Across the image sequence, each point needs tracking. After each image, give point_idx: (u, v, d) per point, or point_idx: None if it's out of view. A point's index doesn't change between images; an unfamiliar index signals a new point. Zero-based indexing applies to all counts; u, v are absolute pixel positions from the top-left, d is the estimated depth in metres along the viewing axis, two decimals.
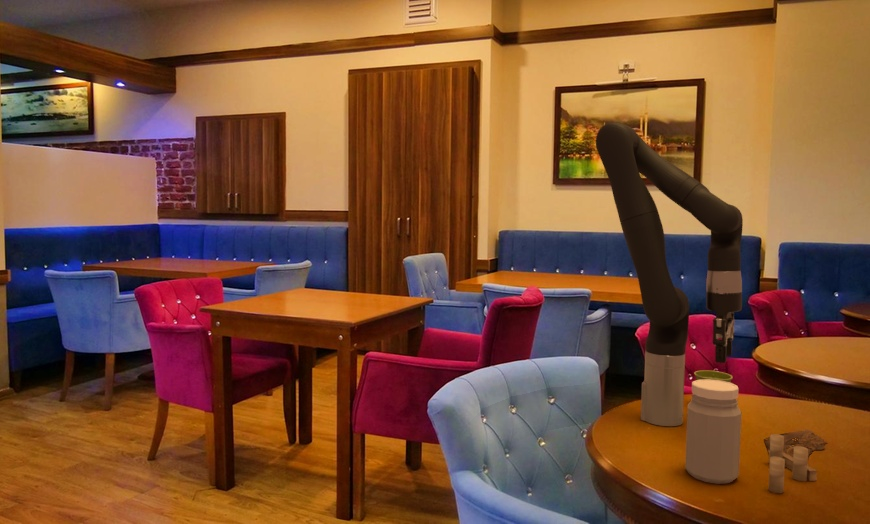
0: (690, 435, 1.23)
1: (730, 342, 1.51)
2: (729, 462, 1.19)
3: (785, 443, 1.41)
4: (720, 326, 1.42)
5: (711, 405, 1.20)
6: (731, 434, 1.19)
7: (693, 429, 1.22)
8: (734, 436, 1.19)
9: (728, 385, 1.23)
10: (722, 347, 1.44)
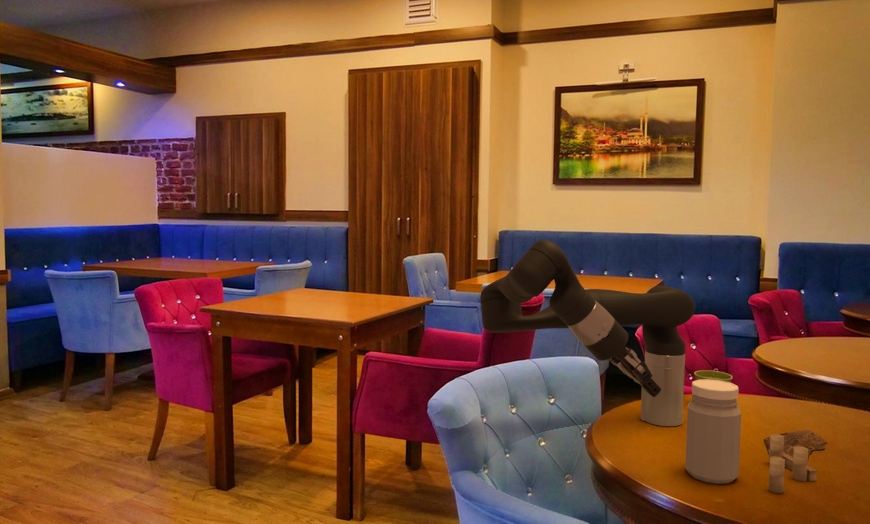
0: (690, 435, 1.23)
1: None
2: (729, 462, 1.19)
3: (785, 443, 1.41)
4: (644, 371, 1.15)
5: (711, 405, 1.20)
6: (731, 434, 1.19)
7: (693, 429, 1.22)
8: (734, 436, 1.19)
9: (728, 385, 1.23)
10: (648, 379, 1.20)
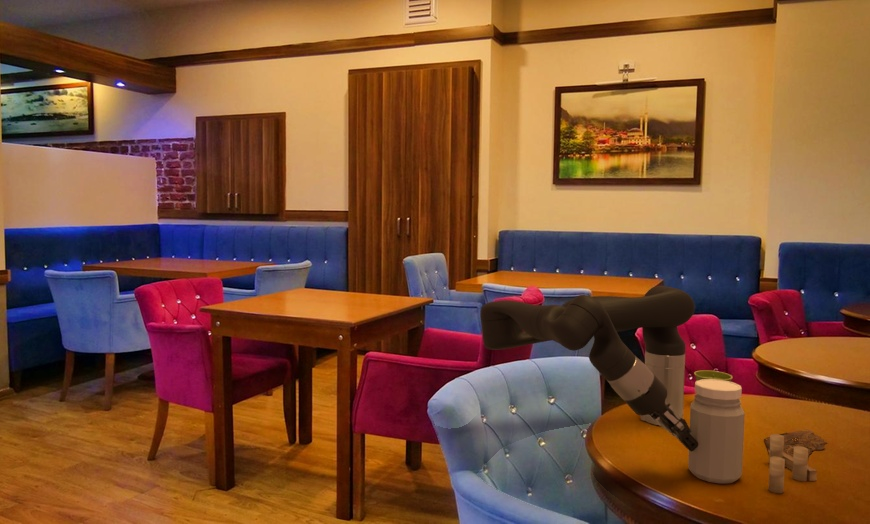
0: (693, 435, 1.23)
1: None
2: (732, 462, 1.19)
3: (785, 443, 1.41)
4: (684, 428, 1.16)
5: (714, 405, 1.20)
6: (735, 434, 1.19)
7: (697, 429, 1.22)
8: (737, 436, 1.19)
9: (731, 385, 1.23)
10: None
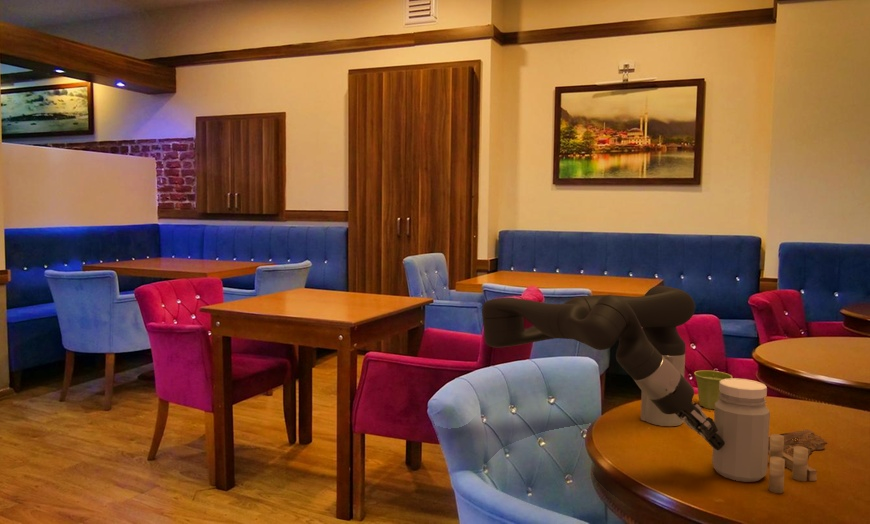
0: (719, 434, 1.23)
1: None
2: (758, 460, 1.20)
3: (785, 443, 1.41)
4: (711, 427, 1.17)
5: (741, 404, 1.20)
6: (761, 432, 1.20)
7: (722, 428, 1.22)
8: (763, 434, 1.20)
9: (756, 384, 1.24)
10: None
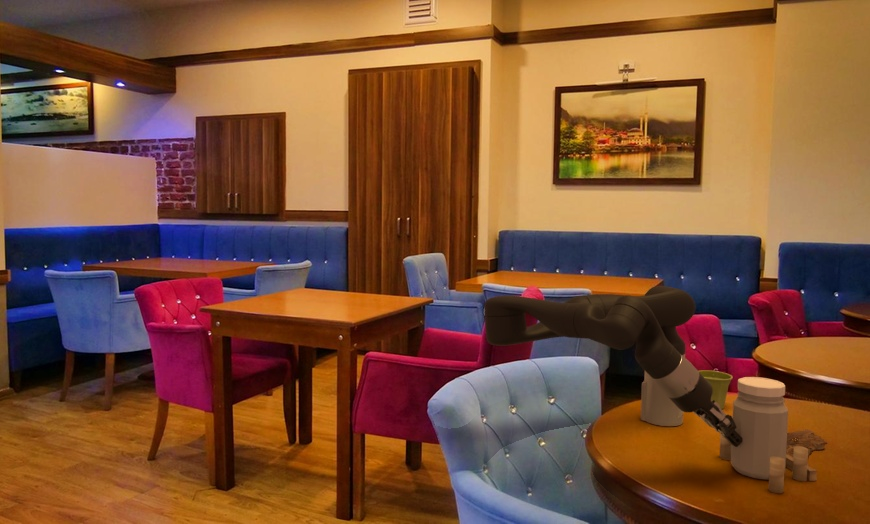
0: (737, 432, 1.25)
1: None
2: None
3: None
4: (730, 424, 1.18)
5: (758, 402, 1.22)
6: (779, 430, 1.21)
7: (740, 426, 1.24)
8: (781, 433, 1.21)
9: (774, 382, 1.25)
10: None
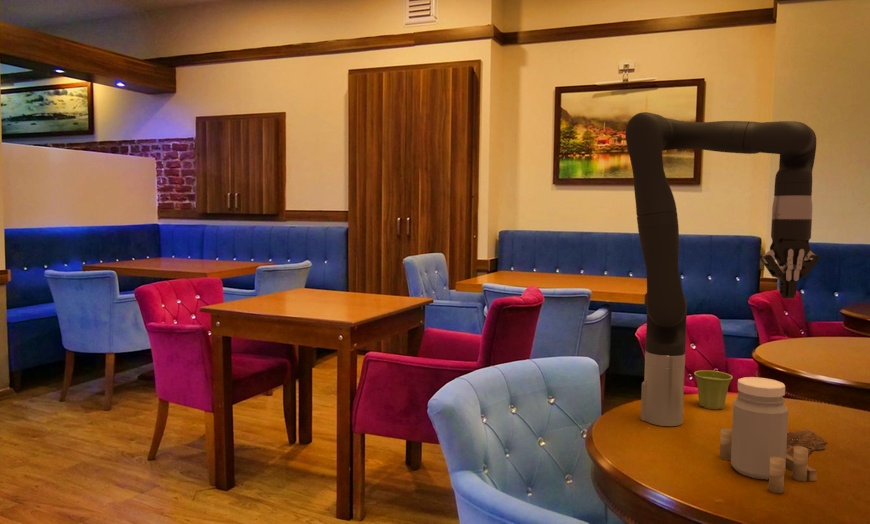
0: (737, 432, 1.25)
1: None
2: None
3: None
4: None
5: (758, 402, 1.22)
6: (779, 431, 1.21)
7: (740, 426, 1.24)
8: (781, 433, 1.21)
9: (774, 383, 1.25)
10: None
